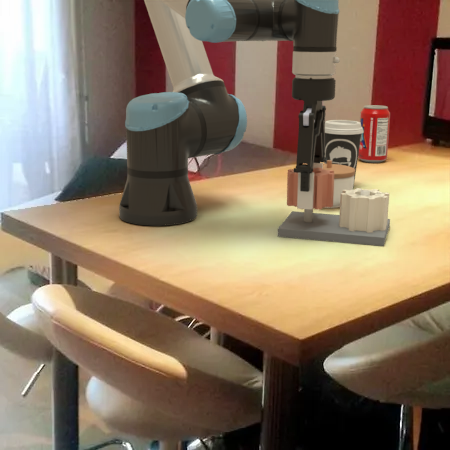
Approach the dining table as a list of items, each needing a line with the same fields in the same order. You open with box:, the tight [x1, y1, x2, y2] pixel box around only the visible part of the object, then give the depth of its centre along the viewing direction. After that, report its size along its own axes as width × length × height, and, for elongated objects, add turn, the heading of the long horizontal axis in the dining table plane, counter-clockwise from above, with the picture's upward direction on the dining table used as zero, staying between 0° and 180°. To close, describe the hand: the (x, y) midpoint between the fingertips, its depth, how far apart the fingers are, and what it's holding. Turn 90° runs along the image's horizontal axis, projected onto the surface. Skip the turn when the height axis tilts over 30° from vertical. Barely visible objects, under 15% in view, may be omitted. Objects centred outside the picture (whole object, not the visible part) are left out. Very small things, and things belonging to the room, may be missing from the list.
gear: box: [286, 168, 334, 211], centre depth 134 cm, size 8×8×6 cm
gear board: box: [276, 187, 391, 247], centre depth 134 cm, size 19×13×8 cm
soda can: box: [358, 104, 391, 164], centre depth 202 cm, size 8×8×15 cm
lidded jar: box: [322, 160, 356, 209], centre depth 153 cm, size 11×11×9 cm
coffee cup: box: [323, 119, 364, 189], centre depth 169 cm, size 10×10×15 cm
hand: (309, 202), depth 135 cm, fingers closed on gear, 9 cm apart
